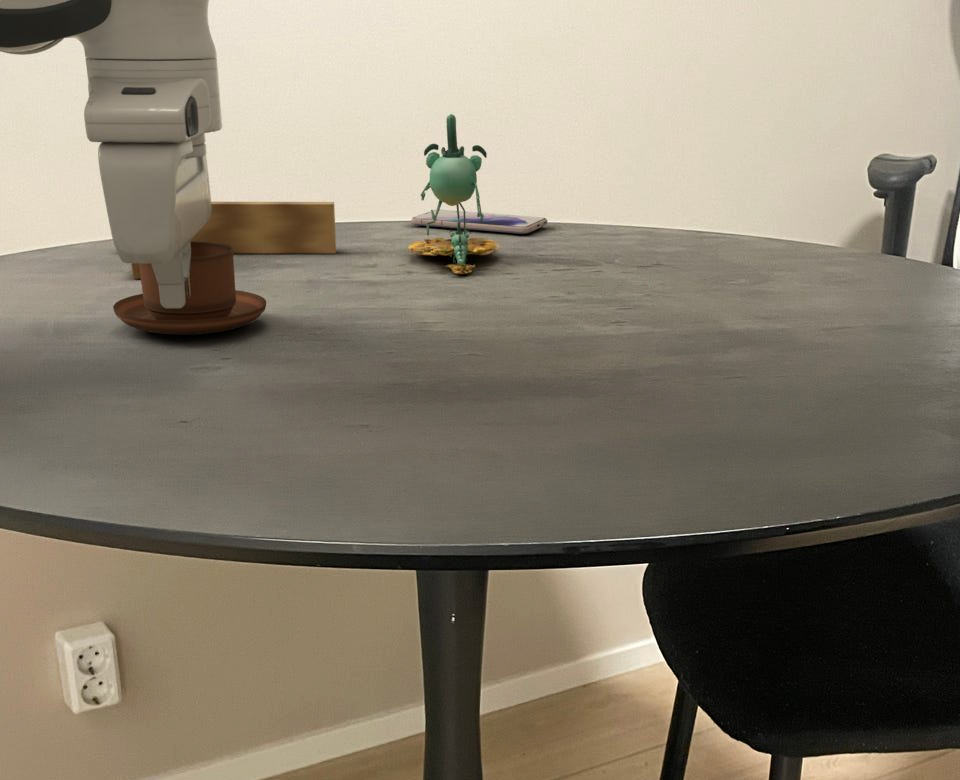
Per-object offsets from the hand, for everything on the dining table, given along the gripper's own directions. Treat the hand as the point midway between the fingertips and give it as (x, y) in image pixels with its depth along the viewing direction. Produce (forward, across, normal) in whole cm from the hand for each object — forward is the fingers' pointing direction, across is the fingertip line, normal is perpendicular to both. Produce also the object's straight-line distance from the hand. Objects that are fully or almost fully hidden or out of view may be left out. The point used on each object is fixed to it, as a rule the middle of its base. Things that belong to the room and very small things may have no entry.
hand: (176, 304), depth 94 cm
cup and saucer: (+4, -7, 0) cm, 8 cm away
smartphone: (+3, -58, +26) cm, 64 cm away
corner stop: (+3, -34, -1) cm, 34 cm away
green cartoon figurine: (+4, -37, +22) cm, 43 cm away
